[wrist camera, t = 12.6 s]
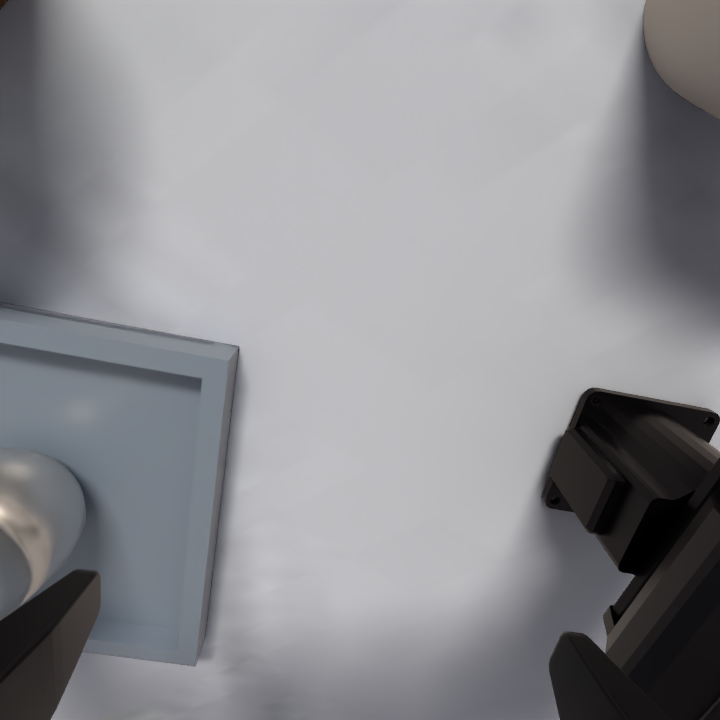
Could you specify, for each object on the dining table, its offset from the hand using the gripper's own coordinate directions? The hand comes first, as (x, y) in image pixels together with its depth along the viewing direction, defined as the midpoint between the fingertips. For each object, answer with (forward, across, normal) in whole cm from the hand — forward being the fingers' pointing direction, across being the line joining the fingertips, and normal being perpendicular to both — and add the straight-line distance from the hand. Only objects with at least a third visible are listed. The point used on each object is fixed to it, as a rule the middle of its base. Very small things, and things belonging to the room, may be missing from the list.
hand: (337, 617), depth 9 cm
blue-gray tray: (+13, +14, +9) cm, 21 cm away
